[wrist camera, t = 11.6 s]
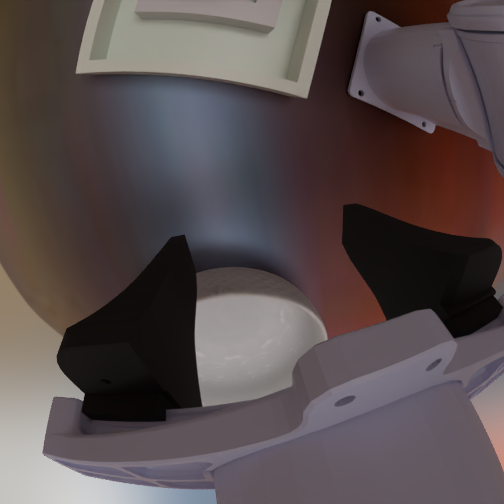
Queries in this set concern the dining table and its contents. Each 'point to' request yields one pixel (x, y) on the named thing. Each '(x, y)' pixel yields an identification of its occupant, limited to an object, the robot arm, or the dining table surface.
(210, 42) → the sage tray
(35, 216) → the dining table surface
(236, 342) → the cereal bowl
